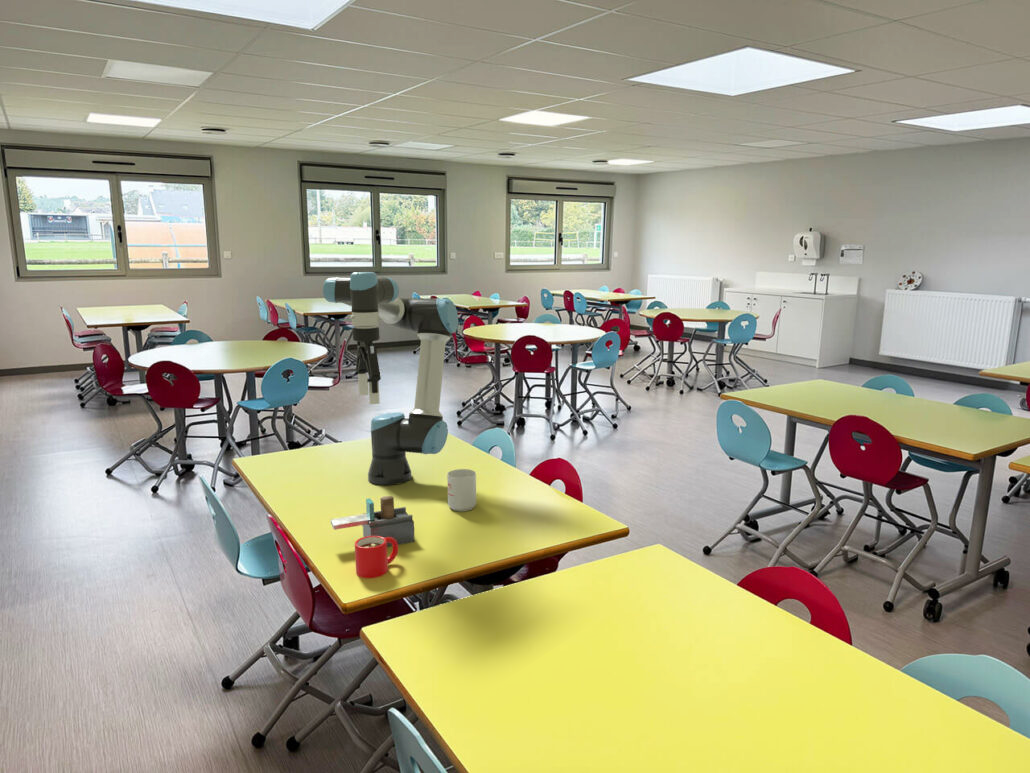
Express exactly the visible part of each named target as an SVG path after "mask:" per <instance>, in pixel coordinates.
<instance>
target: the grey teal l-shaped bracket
mask: <svg viewBox="0 0 1030 773" xmlns="http://www.w3.org/2000/svg"><path fill="white" fill-rule="evenodd" d="M365 504H366V513H367V514H363V513H361V514H356V515H350V516H343V517H338V518H331V519H330V525H331V527H332V528H333V530H336V531H337V530H340V529H347V528H352V527H358V526H363V525H366V524H369V522H370V521H375V518H374V512H375V504H374V502H373V500H372V499H371V498H366V499H365Z"/></svg>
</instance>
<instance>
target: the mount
mask: <svg viewBox="0 0 1030 773" xmlns="http://www.w3.org/2000/svg"><path fill="white" fill-rule="evenodd" d="M362 514H367V512H364V513H363V512H362ZM374 518H375V521H370V522H369V524H366V525H362V534H363V537H366V536H381V537H384V538H386V537H392V538H394V539H395V540H396V541H397V543H398V546H399V545H404V544H409V543H415V521H414V519H413V514H408V512H407V508H406V506H404V507H396V508H395V507H394V518H388V519H382V520H381V510H378V511H374ZM388 547H393V546H392V544H391V543H387V548H388Z"/></svg>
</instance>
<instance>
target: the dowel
mask: <svg viewBox="0 0 1030 773" xmlns="http://www.w3.org/2000/svg"><path fill="white" fill-rule="evenodd" d="M394 509H395V500H394V496H392V495H385V496H382V497H380V511H381V520H382V519H388V518H394Z"/></svg>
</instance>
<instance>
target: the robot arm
mask: <svg viewBox="0 0 1030 773" xmlns="http://www.w3.org/2000/svg"><path fill="white" fill-rule="evenodd" d="M377 276H378V275H377V273H376V272H374V271H359V272H357V271H354V272H351V274H350V276H349V277H338V276H336V277H329V278H327V279H326V280H325V281H324V282H323V285H322V294H323V297H324V299H325V300H326V301H327V302H329V303H335V304H337V303H340V304H344V305H346V306H349V307H351V315H349V319H350V320H351V322H352V323H351V324H352V326H353V328H352V330H351V331H352V341H354V342H356V348H357V349H356V350H357V351H356V360H355V361H356V364H355V370H356V371H357V379H358V380H357V381H358V384H357V385H358V396H368V398H369V399H368V400H369V405H378V404H379V405H380V384H379V383H380V382H379V381H381V378H382V377H381V374H380V372H381V371H380V364H379V359H378V352H377V351H378V350H377V349H378V347H377V346H376V345H374V343H373V342H377V341H379V340H380V328H379V327H378V326H379V325H380V319H381V320H382V321H383V322H384V323H385V324H388V325H390V326H394V327H395V328H399V329H402V330H406V331H410V332H417V334H416V335H417V337H418V338H419V340H420V346H419V355H418V356H419V358H418V369H417V376H416V387H415V396H414V398H415V399H414V408H413V409H412V410H411V411H410V412H409V414H408V418H405V417H406V416H405V414H404V413H403V412H388V413H385V414H383V413H382V414H379V415H377V416H374V417H372V418H371V419H372V420H371V421H370V436H371V439H370V440H371V441H370V442H371V456H372V458H371V463H370V466H369V468H368V473H367V479H368V482H369V483H372V484H374V485H381V486H382V485H383V486H393V485H399V484H403V483H406V482H408V481H410V480H411V479H412V470H411V467H410V464H409V462H408V459H407V457H406V456H407V454H406V453H412V454H421V455H437V454H439V453H440V452H441V451H442V450H443V448H444V447H445V445H446V442H447V439H448V433H449V428H448V427H449V426H448V424H447V422H446V421H444V419H443V418H444V416H443V414H442V413H441V412H440V403H441V396H442V395H441V394H442V385H443V383H442V382H443V374H444V363H445V351H446V343H447V342H448V341H449V340H451V334H454V333H456V332H457V329H458V327H459V315H458V310H457V308H456V305H455V303H454V302H453V301H452V300H450V299H446V298H440V297H438V298H433V297H432V298H419V297H418V298H415V297H411V298H409V297H408V298H407V297H405V298H404V297H398V296H399V293H400V288H399V285H398V282H397V281H396V280H395V279H394V278H392V277H385V276H384V277H383V276H382V277H377Z"/></svg>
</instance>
